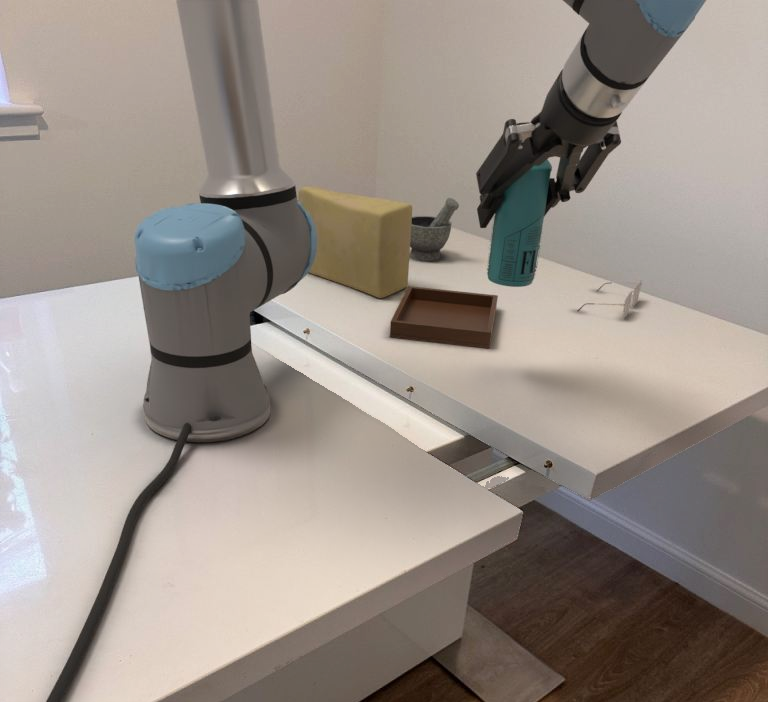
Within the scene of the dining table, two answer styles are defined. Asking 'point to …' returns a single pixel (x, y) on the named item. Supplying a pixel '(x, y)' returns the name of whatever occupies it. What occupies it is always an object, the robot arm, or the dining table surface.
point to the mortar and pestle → (431, 232)
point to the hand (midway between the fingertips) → (506, 217)
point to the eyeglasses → (628, 298)
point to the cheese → (360, 240)
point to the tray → (445, 317)
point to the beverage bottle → (519, 228)
